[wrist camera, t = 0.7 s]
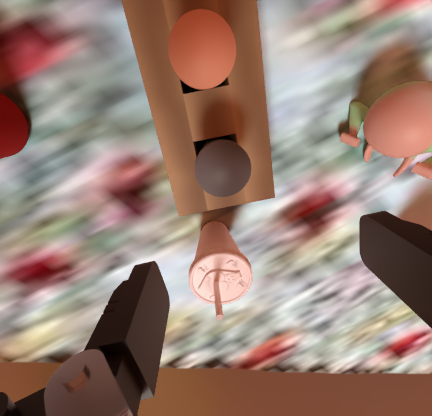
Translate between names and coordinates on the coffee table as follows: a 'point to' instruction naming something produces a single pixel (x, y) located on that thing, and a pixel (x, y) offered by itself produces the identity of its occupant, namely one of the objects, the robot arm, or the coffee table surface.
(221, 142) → the plunger
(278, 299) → the coffee table surface
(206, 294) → the smoothie
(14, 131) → the beverage can
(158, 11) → the oak block
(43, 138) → the coffee table surface
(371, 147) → the frog
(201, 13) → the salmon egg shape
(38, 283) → the coffee table surface
